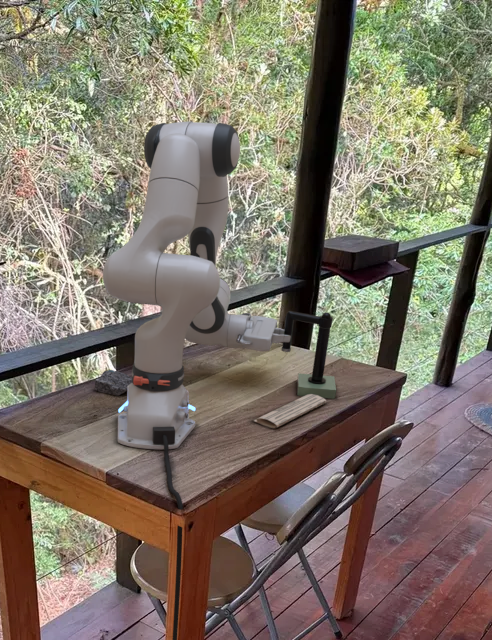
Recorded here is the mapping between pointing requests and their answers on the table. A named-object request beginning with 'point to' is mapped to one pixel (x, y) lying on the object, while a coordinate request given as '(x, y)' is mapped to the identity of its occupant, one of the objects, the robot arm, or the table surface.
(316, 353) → the tap pillar
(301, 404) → the beige flat ridged bar
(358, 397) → the table surface
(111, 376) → the rock
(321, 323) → the spout
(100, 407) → the table surface
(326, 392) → the block
